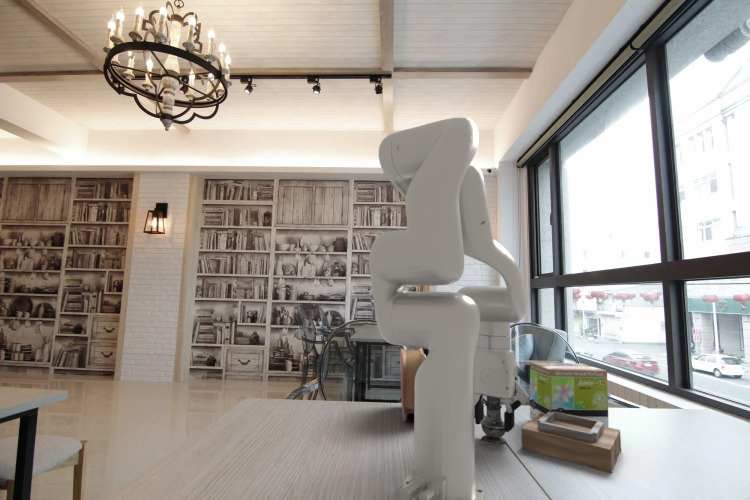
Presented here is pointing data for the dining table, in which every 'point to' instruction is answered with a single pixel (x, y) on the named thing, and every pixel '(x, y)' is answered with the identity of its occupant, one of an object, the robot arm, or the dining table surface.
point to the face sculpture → (409, 378)
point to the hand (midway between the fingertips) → (493, 425)
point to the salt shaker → (493, 423)
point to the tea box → (569, 390)
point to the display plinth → (573, 439)
